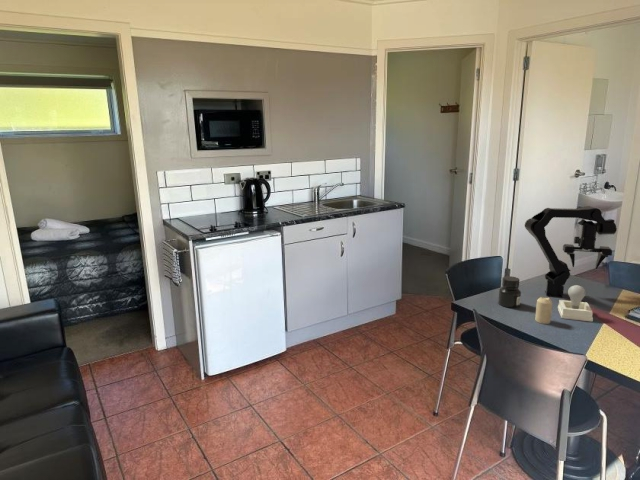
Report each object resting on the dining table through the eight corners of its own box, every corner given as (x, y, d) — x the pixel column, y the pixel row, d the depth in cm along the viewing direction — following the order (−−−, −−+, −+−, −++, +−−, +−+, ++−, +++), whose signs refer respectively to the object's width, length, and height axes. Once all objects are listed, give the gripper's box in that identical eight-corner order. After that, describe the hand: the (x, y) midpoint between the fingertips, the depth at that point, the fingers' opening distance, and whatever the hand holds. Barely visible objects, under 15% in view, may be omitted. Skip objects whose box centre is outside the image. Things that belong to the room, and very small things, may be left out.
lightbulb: (564, 307, 187) (566, 282, 185) (580, 308, 186) (582, 283, 183) (569, 313, 181) (571, 287, 179) (585, 314, 180) (588, 288, 177)
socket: (561, 318, 181) (562, 308, 180) (557, 308, 191) (558, 299, 190) (592, 321, 177) (593, 312, 176) (586, 311, 187) (588, 302, 186)
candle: (549, 319, 180) (551, 296, 178) (551, 324, 175) (554, 300, 172) (534, 317, 182) (536, 294, 179) (535, 323, 177) (538, 299, 174)
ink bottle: (523, 308, 191) (525, 282, 188) (502, 308, 191) (504, 282, 189) (514, 300, 201) (516, 275, 198) (494, 300, 201) (496, 275, 198)
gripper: (608, 232, 204) (603, 264, 207) (562, 229, 210) (559, 261, 214) (614, 237, 193) (609, 271, 197) (566, 234, 200) (562, 267, 203)
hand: (584, 267), depth 203 cm, fingers open, 9 cm apart
